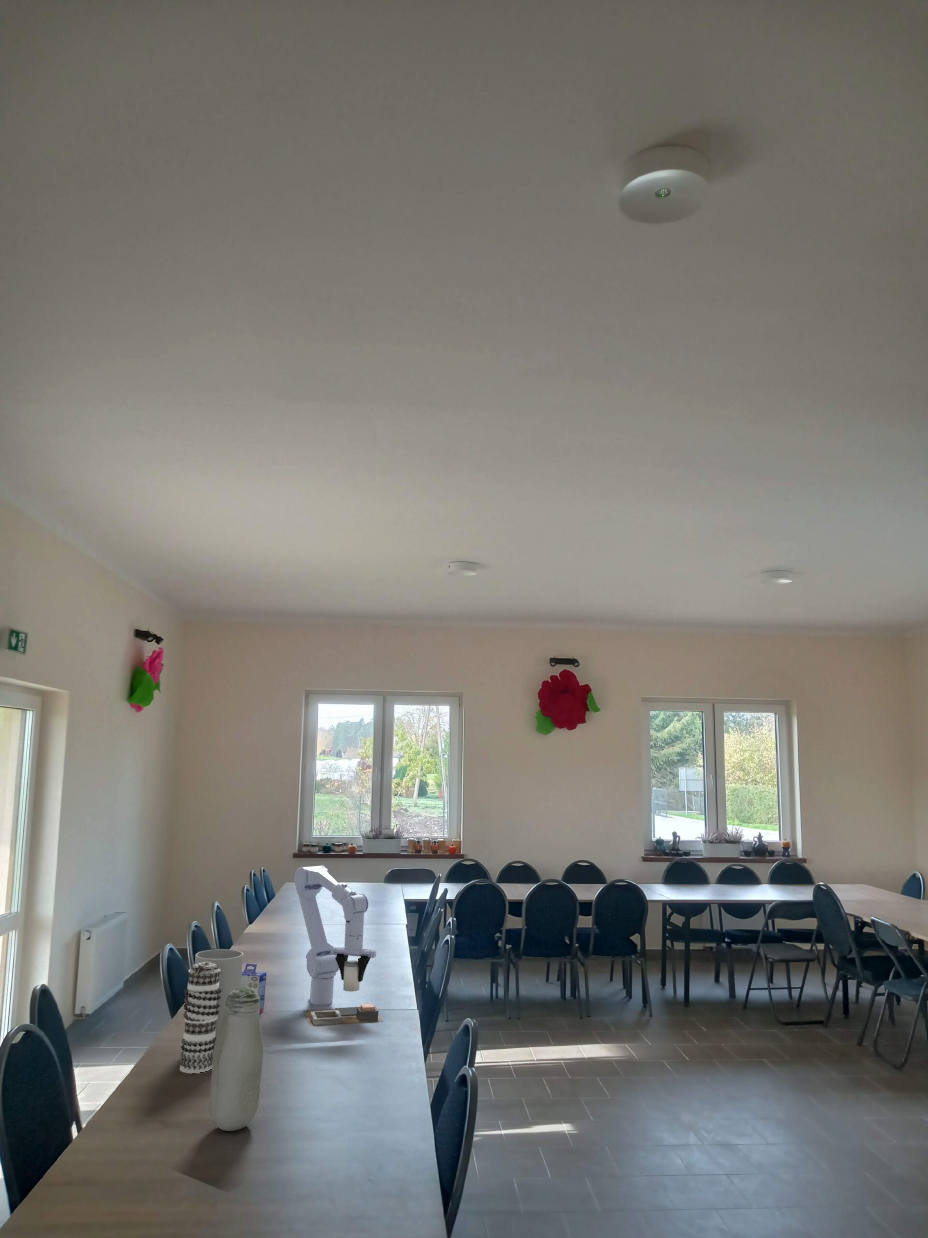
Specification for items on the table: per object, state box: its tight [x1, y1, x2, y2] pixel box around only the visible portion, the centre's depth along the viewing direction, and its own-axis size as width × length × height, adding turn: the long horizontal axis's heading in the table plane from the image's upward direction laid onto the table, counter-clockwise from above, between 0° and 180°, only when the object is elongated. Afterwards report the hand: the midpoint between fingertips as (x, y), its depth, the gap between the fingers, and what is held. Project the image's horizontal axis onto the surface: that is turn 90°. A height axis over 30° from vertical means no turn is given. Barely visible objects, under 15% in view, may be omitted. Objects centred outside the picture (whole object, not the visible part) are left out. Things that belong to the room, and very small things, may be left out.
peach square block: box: [360, 1003, 376, 1011], centre depth 260 cm, size 4×4×3 cm
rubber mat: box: [334, 1006, 358, 1016], centre depth 265 cm, size 8×8×1 cm
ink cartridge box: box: [241, 963, 267, 1014], centre depth 264 cm, size 10×6×14 cm, turn 78°
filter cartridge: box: [342, 959, 361, 992], centre depth 267 cm, size 5×5×8 cm
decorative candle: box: [179, 962, 221, 1075], centre depth 218 cm, size 9×9×25 cm
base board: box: [302, 1005, 384, 1027], centre depth 261 cm, size 16×22×4 cm
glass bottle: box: [209, 987, 264, 1132], centre depth 184 cm, size 10×10×28 cm
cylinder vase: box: [194, 948, 244, 1043], centre depth 230 cm, size 12×12×25 cm
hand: (352, 980), depth 267 cm, fingers closed on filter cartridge, 5 cm apart
